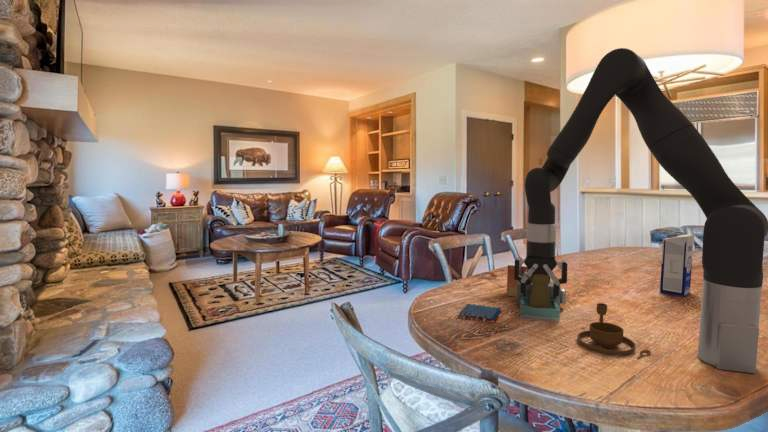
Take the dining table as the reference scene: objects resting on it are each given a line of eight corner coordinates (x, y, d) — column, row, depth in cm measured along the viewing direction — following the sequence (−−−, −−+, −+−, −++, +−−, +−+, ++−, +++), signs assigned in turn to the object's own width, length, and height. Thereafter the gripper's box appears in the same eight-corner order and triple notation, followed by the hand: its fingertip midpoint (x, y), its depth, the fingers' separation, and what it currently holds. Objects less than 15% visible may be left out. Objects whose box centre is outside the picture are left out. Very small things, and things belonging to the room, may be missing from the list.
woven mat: (465, 308, 121) (465, 302, 121) (501, 313, 116) (501, 306, 116) (456, 320, 111) (456, 313, 111) (495, 325, 107) (495, 318, 107)
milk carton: (684, 296, 128) (688, 235, 126) (659, 292, 133) (663, 233, 131) (690, 292, 133) (694, 233, 131) (666, 288, 138) (669, 231, 136)
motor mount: (570, 323, 106) (571, 289, 105) (516, 318, 110) (517, 285, 110) (563, 304, 122) (564, 274, 121) (517, 300, 126) (517, 271, 125)
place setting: (555, 340, 97) (556, 317, 96) (596, 322, 108) (597, 301, 108) (633, 368, 83) (635, 341, 82) (671, 344, 94) (672, 320, 94)
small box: (506, 296, 131) (506, 264, 130) (509, 291, 136) (510, 261, 135) (531, 299, 127) (532, 267, 126) (534, 294, 132) (535, 263, 131)
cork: (552, 314, 109) (554, 275, 109) (529, 313, 111) (531, 274, 110) (548, 307, 115) (549, 270, 114) (526, 306, 117) (527, 269, 116)
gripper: (513, 240, 110) (512, 297, 111) (570, 242, 105) (568, 302, 107) (514, 236, 117) (513, 290, 119) (567, 238, 112) (565, 294, 114)
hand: (539, 296), depth 113 cm, fingers open, 7 cm apart
